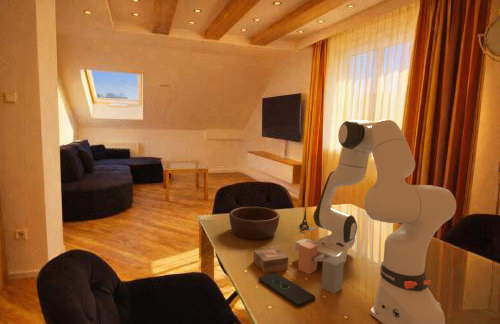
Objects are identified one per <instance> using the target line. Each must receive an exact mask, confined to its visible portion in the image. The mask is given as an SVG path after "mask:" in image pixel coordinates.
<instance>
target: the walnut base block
mask: <svg viewBox="0 0 500 324" xmlns="http://www.w3.org/2000/svg"><path fill="white" fill-rule="evenodd" d="M253 263H254V264H255V265H256V266H257V267H258V269H259V270H260V271H261V272H262V273H263V274H269V273H273V272H280V271H286V270H289V269H288V268H289V257H288V256H287V255H286V254H284V252H282V251H281V250H280V249H279V248H278V247H272V248H263V249H255V250H253Z"/></svg>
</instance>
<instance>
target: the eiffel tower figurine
mask: <svg viewBox="0 0 500 324" xmlns="http://www.w3.org/2000/svg"><path fill="white" fill-rule="evenodd" d="M298 227H299V229H300V230H306V231H307V230H308V231H307V233H308V232H312V231H316V230H317V226H314V225H312V224H311V223H308V221H307V205H305V206H304V216H303V219H302V221H301V223H300V224H299V225H298ZM306 231H300V233H301V234H304V233H306Z"/></svg>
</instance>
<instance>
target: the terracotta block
mask: <svg viewBox="0 0 500 324" xmlns="http://www.w3.org/2000/svg"><path fill="white" fill-rule="evenodd" d="M298 253H299V255H298V260H297V262H298V264H297V265H298V266H297V270H299V271H300V272H303V273H304V272H305V274H307V275H310V274H312V273H315V272H317V267H318V261H317V262H314V261H312V257H313V256H317V255H318V245H316V244H313V243H310V242H308V241H307V242H305V243H302V244H299V251H298Z"/></svg>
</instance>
